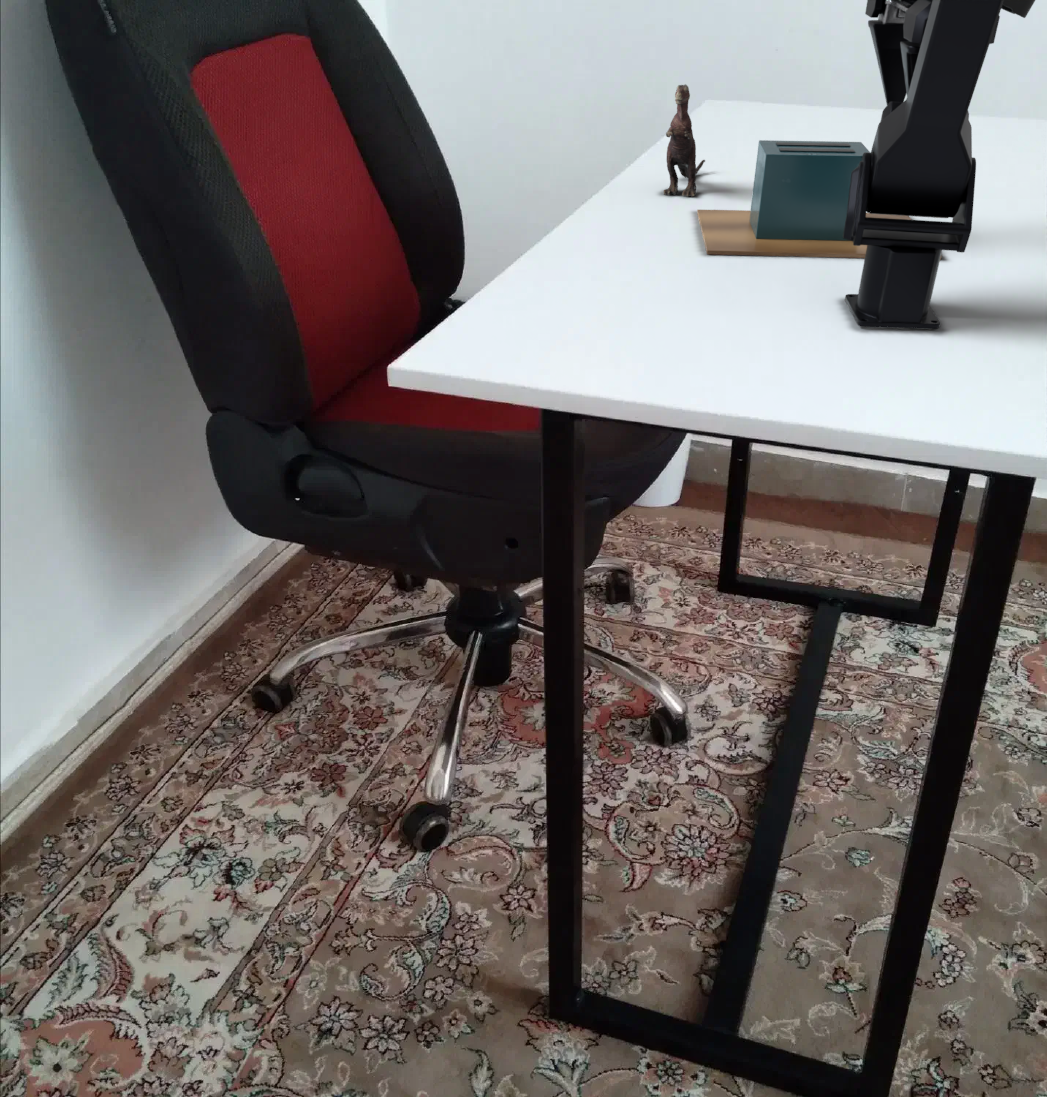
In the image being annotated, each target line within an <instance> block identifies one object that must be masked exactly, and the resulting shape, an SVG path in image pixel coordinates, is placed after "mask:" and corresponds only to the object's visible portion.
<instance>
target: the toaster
mask: <svg viewBox="0 0 1047 1097" xmlns="http://www.w3.org/2000/svg"><path fill="white" fill-rule="evenodd" d="M864 152H868V153H871V151H870V150H869V149H868V148H867V147H866V146H865V144H864V143H863V142H862V141H832V140H831V141H828V140H827V141H826V140H825V141H823V140H822V141H820V140H766V139H765V140H760V139H759V140H758V146H757V154H756V161H755V171H754V177H753V187H752V195H751V204H750V210H749V211H750V219H749V221H750V224H751V227H752V230H753V232H754V235H755V238H756V239H786V240H832V241H850V240H848V239H845V238H843V233H844V227H845V221H846V214H847V206H848V197H849V189H850V180H851V173H852V171H853V170H854V169H855V168H857V167H858V165H859V162H860V161H861V160H862V156H863V153H864Z"/></svg>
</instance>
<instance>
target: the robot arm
mask: <svg viewBox="0 0 1047 1097" xmlns="http://www.w3.org/2000/svg"><path fill="white" fill-rule="evenodd" d="M1035 2H1036V0H866V7H865V12H864V13H865V15H866V16H867V17H869V18H873V19H869V20H868V22H867V25H868V28H869V31H870V35H871V39H872V44H873V47H874V48H873V49H874V52H875V56H876V61H877V65H878V69H879V74H880V79H881V83H882V88H883V94H884V98H885V103H886V106H885V107H884V108H883V110H882V113H881V116H880V122H879V123H878V125H877V128H876V132H875V136H874V139H873V142H872V146H871V150H870V153H868V152H864V153H863V156H862V160H861V161H860V162H859V165H858V167H857V168H855V169H854V170H853V171H852V173H851V180H850V189H849V197H848V206H847V214H846V221H845V227H844V233H843V238H845V239H848V240H850V241H853V245H854V246H860V245H867V249H866V255H865V258H864V261H863V265H862V266H863V267H862V271H861V277H860V282H859V288H858V291H857V293H855V294H854V293H847V294H845V296H844V302H845V304H846V306H847V307H848V309H849V311H850V314H851V315H852V317H853V319H854V321H855V323H856V325H857V326H858V327H860V328H885V329H888V328H889V329H890V328H891V329H920V330H921V329H923V330H925V329H926V330H938V329H940V327H941V323H942V322H941V320H940V319H939V318H938V316H937V315H936V313H935V311H934V310H933V309H932V308H931V302H932V297H933V293H934V288H935V284H936V278H937V275H938V271H939V265H940V261H941V260H940V257H941V255H942V253H943V251H952V252H954V251H955V252H957V253H965V252H966V248H967V246H968V243H969V239H970V236H971V233H972V227H973V213H974V201H975V200H974V199H975V186H976V173H977V158H976V157H974V156H973V139H972V136H973V134H972V124H971V122H970V120H969V119H970V113H969V109H970V108H969V107H970V105H971V101H972V100H973V99H972V98H973V95H974V93H975V89H976V86H977V83H978V81H979V77H980V75H981V71H982V68H983V65H984V63H985V60H986V56H987V53H988V49H989V46H990V45H992V44H994V43H995V39H996V35H997V32H998V28H999V22H1000V18H1001V15H1000V14H1001V11H1002V10H1003V11H1006V12H1008V13H1011V14H1013V15H1017V16H1019V17H1021V18H1023V19H1025V18H1026V17H1027V16H1028V14H1029V12H1030V11H1031V9H1032V7H1033V5H1034V3H1035ZM875 18H877V19H875ZM866 213H870V214H881V215H898V216H909V217H916V218H919V217H920V218H935V219H936V218H937V219H949V218H951V219H952V221H938V220H924V219H923V220H922V219H921V220H920V219H912V220H906V219H889V218H871V217H866ZM941 258H942V257H941Z"/></svg>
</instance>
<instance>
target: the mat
mask: <svg viewBox="0 0 1047 1097" xmlns="http://www.w3.org/2000/svg"><path fill="white" fill-rule="evenodd" d="M750 211H751V210H739V209H730V210H729V209H728V210H727V209H697V210H696V214H697V219H698V223H699V227H700V230H701V235H702V239H703V245H704V249H705V252H706V255H714V256H715V255H717V256H721V255H722V256H755V257H757V256H759V257H761V256H762V257H801V258H802V257H805V258H846V259H847V258H848V259H850V258H853V259H865V255H866V249H867V245H860V246H854V245H853V241H832V240H786V239H756V238H755V235H754V232H753V230H752V227H751V224H750V221H749V219H750ZM866 217H871V218H889V219H906V220H913V219H912V218H911V216H898V215H881V214H870V213H867V212H866ZM942 257H943V256H942V254H941V257H940V261H941V260H942Z"/></svg>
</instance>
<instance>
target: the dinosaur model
mask: <svg viewBox="0 0 1047 1097" xmlns="http://www.w3.org/2000/svg"><path fill="white" fill-rule="evenodd" d="M690 97H691V93H690V89H689V86H688V85H687V84H686V83H685V84H678V85H677V87H676V91H675V94H674V98H675V99H674V101H675V104H676V113H675V114H674V116H673V118H672V120H671V121H670V125H669V126H670V127H669V128H668V130H667V131H666V133H665V136H666V137H667V138H670V139H669V141H668V145H667V147H666V148H667V149H666V167H667V171H668V175H669V181H670V183H669V187H668V188H665V189H664V190H663V195H666V196H667V195H668V196H672V195H674V196H676V194H677V193H679V177H678V173H677V171H676V168H675V166H677V168H678V170H679V173H680V174H681V176H682V177H684V178H685V179H686V178H687V185H686V188H685V189H683V191H682V193H681V196H682V197H683V196H684V197H685V196H686V197H695V196H696V194H697V183H696V177H697V176H696V175H697V174H698V172H699V171H700V169H701V168H702V167H703V165H704V163H706V159H702V160H701V161H700V163H698V164H696V159H697V151H696V150H697V146H696V140H695V138H694V134H693V132H694V131H693V129H692V126H693V125H692V119H691V116H690V115H689V111H688V110H689V101H690Z"/></svg>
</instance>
